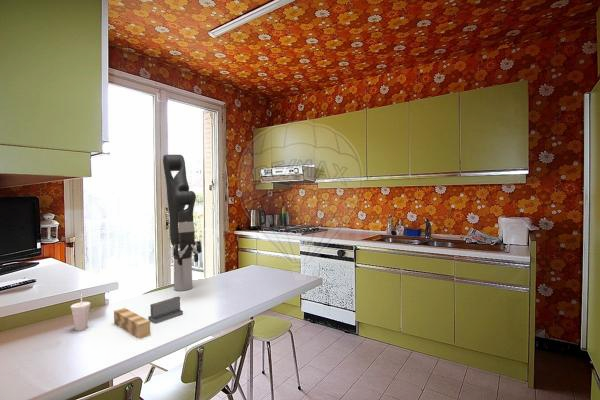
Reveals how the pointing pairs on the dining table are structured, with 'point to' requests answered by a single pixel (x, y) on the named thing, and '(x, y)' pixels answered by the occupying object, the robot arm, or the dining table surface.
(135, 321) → the oak beam
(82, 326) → the smoothie
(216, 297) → the dining table surface
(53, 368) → the dining table surface
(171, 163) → the robot arm
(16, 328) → the dining table surface
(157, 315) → the ridge
